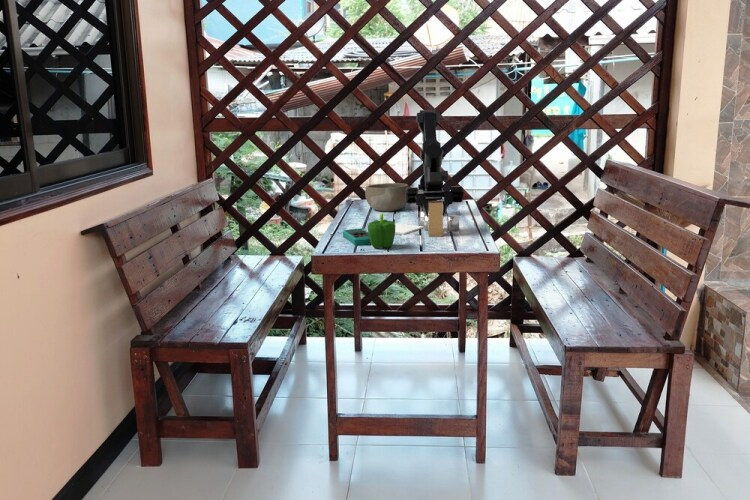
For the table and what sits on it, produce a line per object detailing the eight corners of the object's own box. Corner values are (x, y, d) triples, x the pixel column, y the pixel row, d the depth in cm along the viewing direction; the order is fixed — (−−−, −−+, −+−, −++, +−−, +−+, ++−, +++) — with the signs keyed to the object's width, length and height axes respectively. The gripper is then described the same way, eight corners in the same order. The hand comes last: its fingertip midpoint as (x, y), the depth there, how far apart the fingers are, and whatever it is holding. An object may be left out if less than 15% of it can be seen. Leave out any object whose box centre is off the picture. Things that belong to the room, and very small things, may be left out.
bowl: (372, 205, 271) (371, 181, 269) (414, 206, 266) (413, 182, 264) (360, 213, 255) (359, 187, 253) (404, 214, 250) (404, 188, 248)
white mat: (390, 224, 232) (390, 222, 232) (423, 227, 224) (423, 226, 223) (370, 230, 222) (370, 228, 222) (404, 234, 214) (404, 232, 214)
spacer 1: (423, 224, 230) (423, 210, 229) (433, 225, 228) (433, 211, 226) (417, 226, 227) (417, 212, 226) (427, 227, 224) (427, 213, 223)
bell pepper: (390, 251, 192) (389, 217, 190) (364, 249, 196) (363, 216, 193) (400, 244, 200) (399, 212, 198) (375, 243, 203) (374, 211, 201)
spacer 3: (451, 228, 221) (451, 214, 219) (461, 230, 218) (461, 215, 217) (445, 231, 218) (445, 216, 216) (455, 232, 215) (455, 217, 214)
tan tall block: (428, 233, 214) (428, 200, 211) (441, 233, 214) (441, 200, 211) (429, 236, 210) (428, 203, 207) (442, 236, 210) (442, 202, 207)
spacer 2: (428, 228, 223) (428, 213, 222) (438, 229, 221) (438, 214, 220) (422, 230, 220) (421, 215, 219) (432, 231, 218) (432, 216, 216)
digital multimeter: (355, 247, 200) (354, 238, 199) (342, 238, 214) (342, 229, 213) (377, 245, 202) (377, 236, 202) (363, 236, 216) (363, 227, 215)
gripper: (405, 162, 210) (406, 202, 202) (463, 161, 210) (466, 200, 202) (405, 183, 220) (406, 222, 212) (460, 182, 219) (464, 220, 211)
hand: (435, 216), depth 209 cm, fingers open, 5 cm apart
